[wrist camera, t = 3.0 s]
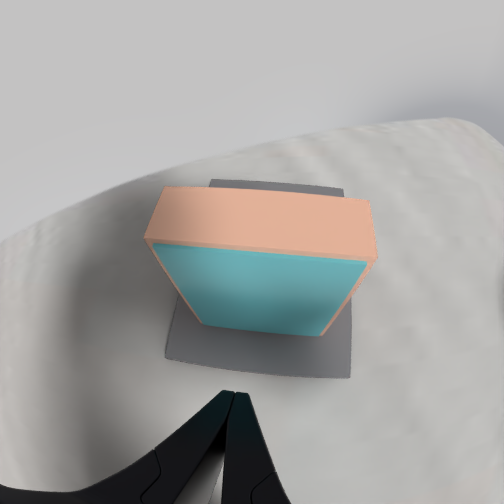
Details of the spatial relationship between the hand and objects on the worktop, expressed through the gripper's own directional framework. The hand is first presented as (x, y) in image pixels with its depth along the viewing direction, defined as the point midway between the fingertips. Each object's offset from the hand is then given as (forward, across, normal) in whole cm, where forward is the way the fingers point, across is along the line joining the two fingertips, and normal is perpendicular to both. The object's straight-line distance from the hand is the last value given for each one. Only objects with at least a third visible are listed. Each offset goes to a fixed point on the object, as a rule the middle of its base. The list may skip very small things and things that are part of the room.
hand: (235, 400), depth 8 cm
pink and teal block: (+10, 0, +2) cm, 10 cm away
